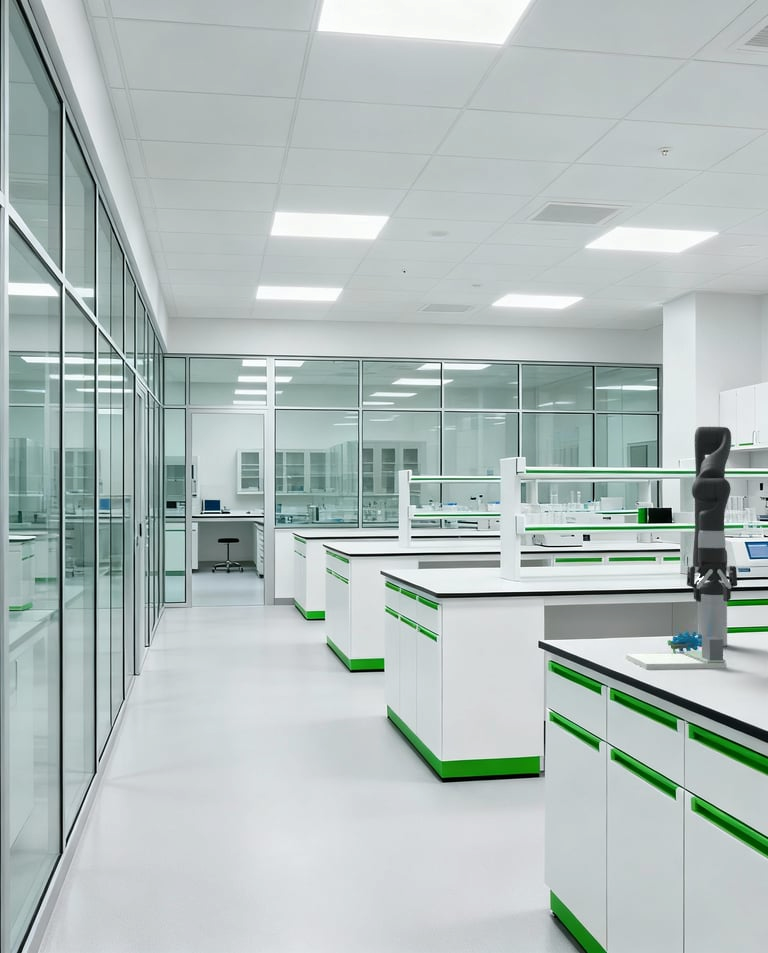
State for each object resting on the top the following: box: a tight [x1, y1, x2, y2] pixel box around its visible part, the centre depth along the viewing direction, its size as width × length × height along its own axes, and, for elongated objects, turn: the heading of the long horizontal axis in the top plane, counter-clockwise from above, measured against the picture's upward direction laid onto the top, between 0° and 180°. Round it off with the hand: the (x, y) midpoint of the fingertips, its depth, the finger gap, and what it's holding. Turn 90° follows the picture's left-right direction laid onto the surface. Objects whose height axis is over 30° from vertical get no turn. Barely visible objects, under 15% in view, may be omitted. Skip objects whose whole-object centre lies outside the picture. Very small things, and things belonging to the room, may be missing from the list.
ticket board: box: [625, 652, 727, 670], centre depth 257 cm, size 16×24×2 cm, turn 95°
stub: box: [683, 637, 726, 663], centre depth 258 cm, size 16×5×7 cm, turn 5°
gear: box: [667, 630, 702, 654], centre depth 273 cm, size 11×6×10 cm
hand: (712, 601), depth 253 cm, fingers open, 8 cm apart
